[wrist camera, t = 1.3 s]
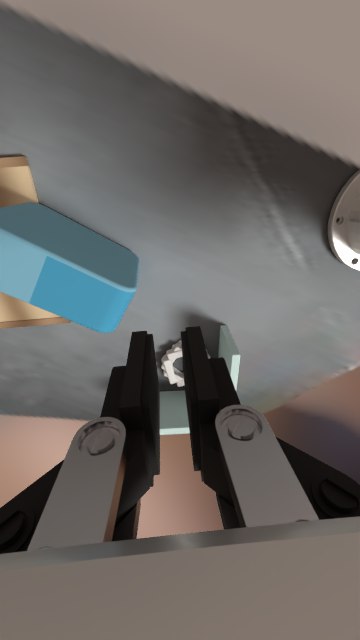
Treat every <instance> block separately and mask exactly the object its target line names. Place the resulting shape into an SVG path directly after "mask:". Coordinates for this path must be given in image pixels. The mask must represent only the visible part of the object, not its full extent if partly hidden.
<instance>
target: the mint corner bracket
mask: <svg viewBox="0 0 360 640" xmlns="http://www.w3.org/2000/svg"><path fill="white" fill-rule="evenodd" d="M206 351H207V349H206ZM207 355H208V359H209V358H210V355H209V354H208V353H207ZM179 357H182V343H181V340H180V341H179V342H177V343H176V344H173V345H172V348H171V349H170V350H167V351H166V354H165V355H164V356H163V357H162V363H163V364H162V365H161V368H162V369H163V370H164V372H163V373H164V376H165V377H168V379H169V382H170V384H173V383H176V382H177V386H178V387H181V386H184V373H182V372H180V371H179V370H178V369H176V368H175V367H173V362H174V361H175V360H176V358H179ZM220 357H223V358H224V359H225V362H226V365H227V367H228V370H229V373H230V376H231V379H232V382H233V384H234V387H235V390H236V388H237V380H238V371H239V363H240V353H239V351H238V348H237V346H236V344H235V342H234V340H233V337H232V335H231V333H230V331H229V329H228V326H227V325H220V338H219V352H218V358H220ZM182 433H183V434H184V433H190V430H189V422H188V413H187V405H186V396H185V391H163V392H160V435H166V434H182Z"/></svg>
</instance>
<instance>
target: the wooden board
mask: <svg viewBox="0 0 360 640" xmlns="http://www.w3.org/2000/svg"><path fill="white" fill-rule="evenodd" d="M26 202H34V203H38V204H39V201H38V198H37V194H36V190H35V187H34V183H33V179H32V176H31V172H30V168H29V165H28V161H27V157H25V156H21V157H6V158H0V208H2V207H7V206H12V205H17V204H22V203H26ZM70 322H71V321H70V320H68V319H66V318H63V317H61V316H58V315H56V314H53V313H51V312H48V311H46V310H44V309H41V308H39V307H36V306H34V305H31V304H29V303H26V302H24V301H22V300H19V299H17V298H14V297H12V296H9V295H7V294H5V293H2V292H0V328H12V327H24V326H36V325H48V324H60V323H70Z"/></svg>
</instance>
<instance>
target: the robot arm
mask: <svg viewBox="0 0 360 640" xmlns="http://www.w3.org/2000/svg"><path fill="white" fill-rule="evenodd" d="M336 220H337V221H336ZM328 239H329V244H330V247H331V249H332V252H333V253H334V255H335V256H336V257H337V259H338V260H339V261H341V262H342V263H343V264H344V265H346V266H348V267H350V268H352V269H355V270H358V271H360V169H359V170H358V171H357V172H356V173H355V174H354V175H353V176H352V177H351V178H350V179H349V180H348V181H347V182H346V184H345V185H344V186H343V188H342V189H341V191H340V192H339V194H338V196H337V198H336V199H335V202H334V204H333V207H332V209H331V212H330V216H329V221H328ZM181 343H182V357H183V371H184V386H185V396H186V405H187V413H188V422H189V430H190V439H191V448H192V456H193V465H194V471H200V470H201V477H202V481H204V483H205V484H206V485H208V486H209V487H210V488H212V489H213V490H214V491H215V492H216V500H217V504H218V508H219V512H220V516H221V520H222V524H223V529H224V530H217V531H207V532H198V533H188V534H178V535H169V536H160V537H150V538H141V539H137V531H138V523H139V515H140V506H141V500H140V499H141V497H142V496H143V495H144V494H145V493H146V492H147V491H148V490H149V489H150V487H152V486H153V477H154V475H159V474H160V391H159V382H158V374H157V366H156V358H155V350H154V342H153V335H152V334H147V331H139V332H132V336H131V342H130V347H129V353H128V359H127V364H126V366H118V367H113V369H112V372H111V376H110V380H109V384H108V388H107V392H106V396H105V400H104V404H103V408H102V413H101V417H100V418H97V419H94V420H92V421H89V422H88V423H86V424H85V425H83V426H82V427H81V428H80V429H79V430H78V431H77V433H76V434H75V436H74V438H73V440H72V442H71V445H70V448H69V450H68V452H67V455H66V457H65V459H64V460H63V461H62V462H60V463H59V464H58V465H56V466H55V467H54V468H52V469H51V470H50V471H49V472H47V473H46V474H45V475H43V476H42V477H41V478H39V479H38V480H37V481H35V482H34V483H33V484H31V485H30V486H29V487H27V488H26V489H25V490H24V491H22V492H21V493H19V494H18V495H17V496H16V497H14V498H13V499H12V500H10V501H9V502H8V503H6V504H5V505H4V506H2V507H1V508H0V640H360V485H359V484H358V483H357V482H356V481H354V480H353V479H351V478H350V477H348V476H347V475H345V474H343V473H341V472H340V471H338V470H336V469H334V468H332V467H330V466H328V465H327V464H325V463H323V462H321V461H319V460H317V459H316V458H314V457H312V456H310V455H308V454H306V453H305V452H303V451H301V450H299V449H297V448H295V447H294V446H292V445H290V444H288V443H286V442H284V441H282V440H280V439H279V438H277V437H275V435H274V433H273V431H272V430H271V428H270V426H269V424H268V422H267V420H266V419H265V417H264V416H263V415H262V414H261V413H260V412H259V411H257V410H256V409H254V408H252V407H249V406H245V405H241V404H240V401H239V399H238V396H237V393H236V390H235V387H234V384H233V382H232V379H231V376H230V373H229V370H228V367H227V365H226V362H225V359H224V358H223V357H220V358H209V359H208V355H207V351H206V347H205V344H204V340H203V336H202V332H201V329H200V326H198V327H186V331H182V332H181Z"/></svg>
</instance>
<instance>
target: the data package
mask: <svg viewBox="0 0 360 640" xmlns="http://www.w3.org/2000/svg"><path fill="white" fill-rule="evenodd" d="M138 269H139V258H138V257H137V256H136V255H135V254H134V253H133V252H131V251H130V250H128V249H126V248H124V247H122V246H120V245H118V244H116V243H114V242H113V241H111V240H109V239H107V238H105V237H103V236H101V235H99V234H97V233H95V232H93V231H92V230H90V229H88V228H86V227H84V226H82V225H80V224H78V223H76V222H74V221H72V220H71V219H69V218H67V217H65V216H63V215H61V214H59V213H57V212H55V211H53V210H52V209H50V208H48V207H45V206H43V205H41V204H38V203H34V202H26V203H22V204H17V205H12V206H7V207H2V208H0V292H2V293H5V294H7V295H9V296H12V297H14V298H17V299H19V300H22V301H24V302H26V303H29V304H31V305H34V306H36V307H39V308H41V309H44V310H46V311H48V312H51V313H53V314H56V315H58V316H61V317H63V318H66V319H68V320H70V321H73V322H75V323H78V324H80V325H83V326H85V327H87V328H90V329H92V330H95V331H98V332H103V333H109V332H112V331H114V330H115V329H116V327H117V326H118V324H119V322H120V320H121V318H122V316H123V314H124V312H125V310H126V309H127V307H128V305H129V303H130V301H131V299H132V297H133V295H134V294H135V292H136V290H137V280H138Z"/></svg>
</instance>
